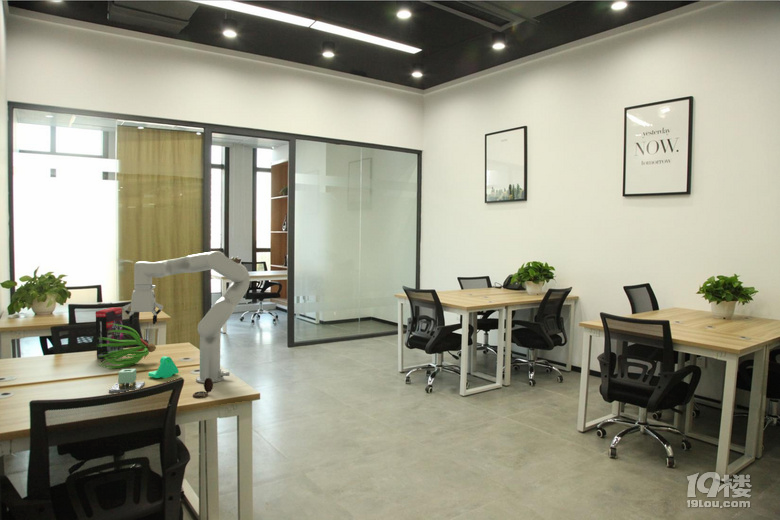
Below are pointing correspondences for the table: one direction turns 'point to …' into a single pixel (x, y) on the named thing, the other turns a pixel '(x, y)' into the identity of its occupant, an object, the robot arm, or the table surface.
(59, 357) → the table surface
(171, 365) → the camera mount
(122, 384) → the chassis
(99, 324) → the graphics card box
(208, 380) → the compass
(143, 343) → the decorative plant
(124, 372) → the pale green block
